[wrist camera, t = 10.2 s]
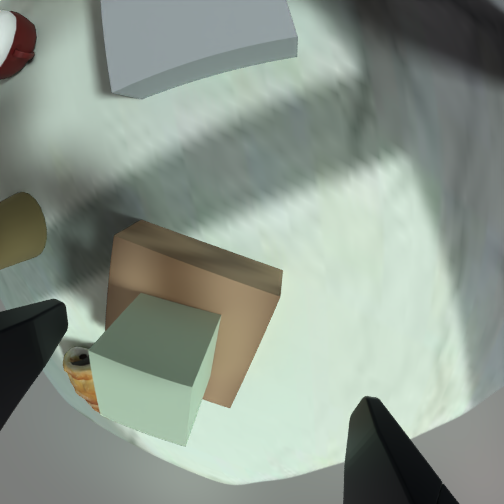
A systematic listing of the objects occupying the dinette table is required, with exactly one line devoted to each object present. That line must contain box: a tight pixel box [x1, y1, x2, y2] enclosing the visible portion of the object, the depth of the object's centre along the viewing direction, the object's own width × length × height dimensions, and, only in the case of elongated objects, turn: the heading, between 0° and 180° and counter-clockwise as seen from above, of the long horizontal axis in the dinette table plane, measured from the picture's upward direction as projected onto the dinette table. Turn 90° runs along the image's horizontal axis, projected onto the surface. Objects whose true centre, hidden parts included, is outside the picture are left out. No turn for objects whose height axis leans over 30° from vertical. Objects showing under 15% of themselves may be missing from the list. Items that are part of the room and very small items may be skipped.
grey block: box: [101, 0, 298, 99], centre depth 13 cm, size 10×10×4 cm
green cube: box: [88, 293, 221, 447], centre depth 15 cm, size 5×5×6 cm
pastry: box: [63, 347, 115, 422], centre depth 25 cm, size 9×7×4 cm
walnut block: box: [105, 220, 283, 408], centre depth 20 cm, size 10×10×4 cm
